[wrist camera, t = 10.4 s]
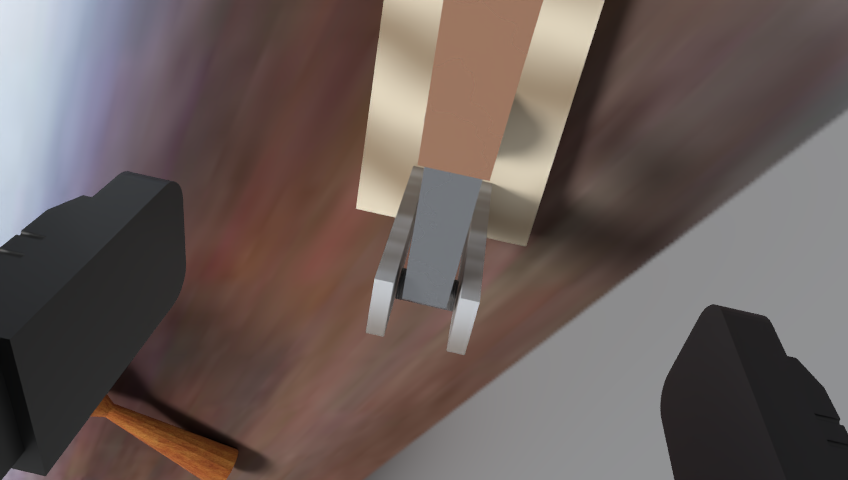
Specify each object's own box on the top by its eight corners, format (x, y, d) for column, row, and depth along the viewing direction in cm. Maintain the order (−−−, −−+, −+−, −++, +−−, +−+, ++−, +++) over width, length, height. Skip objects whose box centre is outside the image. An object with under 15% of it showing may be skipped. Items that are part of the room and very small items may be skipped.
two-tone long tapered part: (196, 512, 52) (-53, 396, 46) (226, 445, 57) (2, 330, 50) (226, 495, 49) (-40, 367, 42) (256, 425, 53) (18, 298, 46)
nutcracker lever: (463, 249, 31) (448, 326, 29) (411, 237, 31) (391, 313, 29) (562, -99, 18) (551, -15, 15) (470, -118, 18) (444, -37, 15)
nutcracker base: (417, -207, 27) (351, -225, 17) (649, -158, 27) (718, -148, 17) (361, 196, 38) (302, 326, 28) (526, 232, 38) (524, 377, 28)
